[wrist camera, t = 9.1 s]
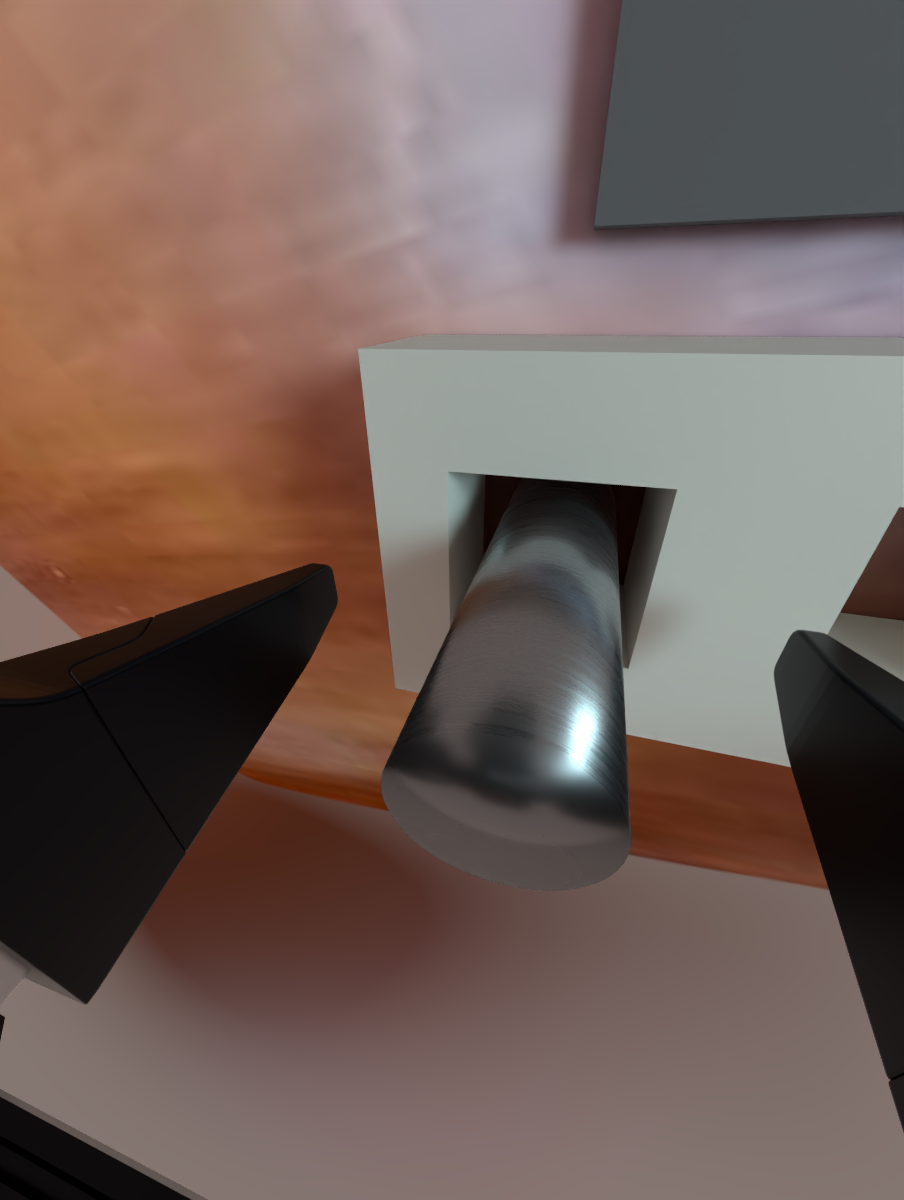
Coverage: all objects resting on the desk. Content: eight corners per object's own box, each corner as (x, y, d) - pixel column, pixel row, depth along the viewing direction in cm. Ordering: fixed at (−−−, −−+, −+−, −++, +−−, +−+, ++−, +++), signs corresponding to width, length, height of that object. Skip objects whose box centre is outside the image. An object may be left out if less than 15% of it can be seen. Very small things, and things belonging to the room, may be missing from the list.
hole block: (1262, 339, 8) (1681, 366, 5) (960, 695, 13) (1073, 823, 10) (424, 334, 12) (357, 348, 9) (435, 614, 17) (395, 688, 14)
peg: (624, 462, 12) (660, 770, 4) (605, 559, 14) (604, 914, 6) (514, 454, 13) (367, 708, 5) (508, 548, 15) (391, 852, 7)
